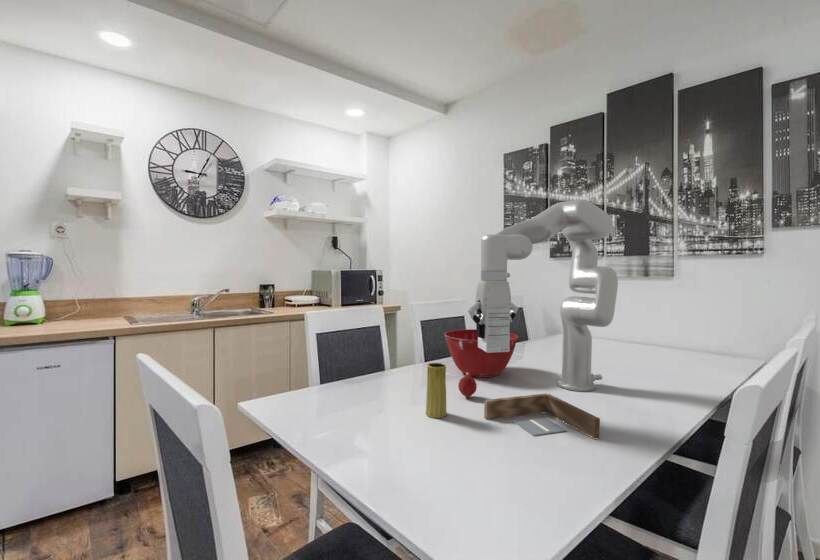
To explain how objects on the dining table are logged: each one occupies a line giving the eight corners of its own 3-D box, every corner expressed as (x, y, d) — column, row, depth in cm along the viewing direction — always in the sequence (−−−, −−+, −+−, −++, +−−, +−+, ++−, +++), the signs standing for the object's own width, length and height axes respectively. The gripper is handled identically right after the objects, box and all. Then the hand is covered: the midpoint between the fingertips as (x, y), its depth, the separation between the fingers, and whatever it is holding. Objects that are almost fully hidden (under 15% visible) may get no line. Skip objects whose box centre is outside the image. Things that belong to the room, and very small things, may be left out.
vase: (432, 419, 114) (432, 368, 113) (421, 412, 119) (421, 363, 119) (451, 416, 117) (451, 366, 116) (439, 409, 122) (440, 361, 122)
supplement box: (477, 347, 125) (477, 306, 124) (500, 346, 126) (500, 305, 125) (485, 353, 117) (486, 308, 117) (510, 352, 119) (510, 308, 118)
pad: (543, 417, 116) (543, 416, 116) (567, 431, 106) (567, 430, 106) (512, 421, 113) (512, 420, 113) (533, 436, 103) (533, 434, 103)
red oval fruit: (476, 401, 130) (476, 375, 129) (457, 399, 131) (457, 374, 130) (476, 395, 135) (477, 371, 135) (459, 394, 136) (459, 370, 136)
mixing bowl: (465, 361, 183) (465, 326, 182) (528, 371, 166) (529, 332, 166) (430, 374, 160) (430, 335, 159) (499, 388, 143) (500, 343, 143)
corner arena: (547, 410, 122) (547, 393, 122) (599, 438, 102) (599, 418, 102) (484, 417, 116) (484, 400, 115) (526, 449, 96) (526, 428, 96)
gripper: (510, 276, 127) (510, 332, 128) (461, 277, 121) (461, 336, 122) (526, 277, 121) (525, 336, 121) (475, 278, 114) (474, 341, 115)
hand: (493, 336), depth 121 cm, fingers closed on supplement box, 8 cm apart
